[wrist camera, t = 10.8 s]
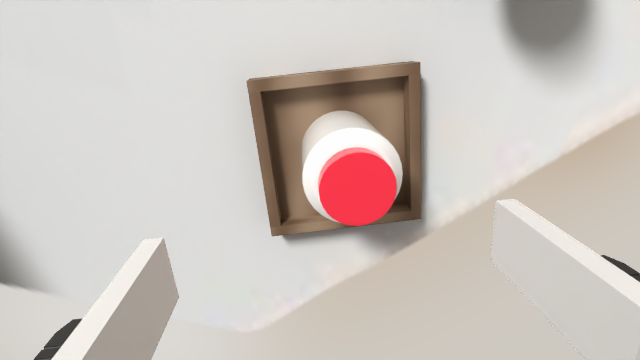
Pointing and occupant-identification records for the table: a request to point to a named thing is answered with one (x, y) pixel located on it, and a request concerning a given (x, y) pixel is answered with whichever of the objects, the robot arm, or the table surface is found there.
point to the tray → (321, 98)
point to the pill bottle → (349, 169)
